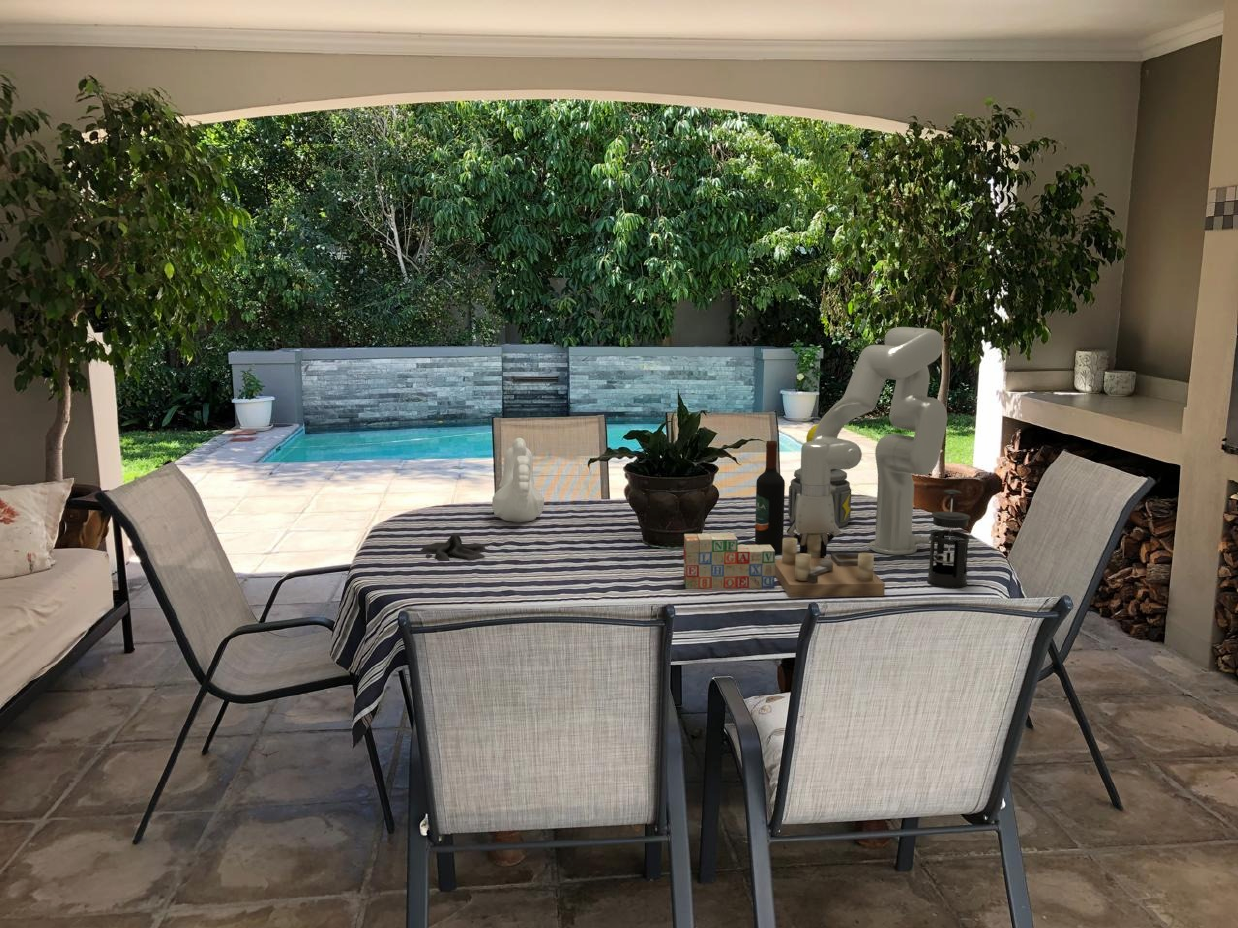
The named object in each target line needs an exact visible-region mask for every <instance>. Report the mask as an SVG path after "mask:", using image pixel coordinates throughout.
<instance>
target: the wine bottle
mask: <svg viewBox="0 0 1238 928" xmlns="http://www.w3.org/2000/svg"><path fill="white" fill-rule="evenodd" d="M765 447H766V453H765V469H764V472H762V473H761V474H760V475H759V476H758V477H757V479H756V485H755V487H756V488H755V489H756V490H755V493H756V494H755V520H754V523H755V524H754V525H755V528H754V529H755V530H754V545H771V546H772V548H773V549H774V551H775V555H780V554H782V547H783V538H784V532H785V531H784V529H785V528H784V527H785V526H784V525H785V494H786V493H785V489H786V483H785V482H786V481H785V479H784V477H783V476H782V475H781V474H780V473H779V472H778V471H777V452H778V441H776V440H766V443H765Z"/></svg>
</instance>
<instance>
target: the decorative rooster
mask: <svg viewBox="0 0 1238 928" xmlns="http://www.w3.org/2000/svg"><path fill="white" fill-rule="evenodd" d="M533 461H534V459H533V453H532V452H531V450H530V449H529V448H528V447H527V443H526V440H525V439H524V438H523V437H517V438H515V439H514V440H513V442H512V446H510V447H509V448H508V449H507V450H506V451H505V454H504V459H503V471H502V472H503V473H502V477H501V479H500V482H499V485H498V487H499V489H498V490H497V491H496V492H495V493H494V495H493V496H492V499H491V501H492V502H491V503H492V504H491V505H492V506H491V507H492V510H493V513H494V515H495V516H498V517H499V519H501V520H503V521H506V522H513V523H526V522H532V521H534V520H536V519H537V517H541V516H542V513H543V511H544V506H545V504H544V503H545V498H544V496H543V494H542V493H541V491H540V490H539V489H538V488H537V487H536V486H535V482H534V470H533V469H534V463H533Z"/></svg>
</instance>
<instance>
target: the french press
mask: <svg viewBox="0 0 1238 928" xmlns="http://www.w3.org/2000/svg"><path fill="white" fill-rule="evenodd" d="M942 492H943V494H948V495H949V499H950V509H949V510H950V511H945V510H944V511H943V510H942V511H936V512H932V513H931V517H932V520H933V521H932V523H933V525H935V526H937V527H941V528H945V529H947V528H948V529H949V530H937V531H931V533H930V534H929V535H930V536H929V541H930V550H929V564H928V565H929V566H928V574H927V579H926V582H927V584H928V585H930V586H933V587H936V588H940V589H941V588H942V589H948V590H949V589H953V590H954V589H956V590H957V589H962V588H966V587H967V586H968V581H967V577H968V570H967V569H968V568H967V565H968V564H967V563H968V551H969V550H968V548H969V547H968V546H969V543H970V536H969V534H967V533H964V532H960V531H953V530H952V529H963V528H967V527H968V526H969V520H970V519H971V516H970V515H969V514H967V513H963V512H957V511H953V500H954V499H955V495H960V494H962V492H961V491H960V490H958V489H945V490H943V491H942ZM945 537H948V538H945ZM951 537H953V538H960V539H951ZM935 543H936V553H935ZM945 546H948V547H947V552H944V551H945ZM951 546H954V547H953V548H954V549H953V550H954V551H953V553H951V552H950V551H951ZM934 563H935V565H934Z"/></svg>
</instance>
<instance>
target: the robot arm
mask: <svg viewBox="0 0 1238 928" xmlns="http://www.w3.org/2000/svg"><path fill="white" fill-rule="evenodd" d="M944 346H945V341H944V338H943V336H942V335H941V333H940V332H939V331H937V330H935V329H933V328H924V327H921V328H920V327H913V326H910V327H909V326H898V327H893V328H890V329H889V330H888V331H887V332H886V334H885V336H884V344H869V345H868V346H865V347H864V348H863V349H862V350H861V353H860V355H859V356H858V359H857V362H856V364H855V366H854V369H853V372H852V375H851V377H850V380H849V382H848V384H847V387H846V390H845V393H844V394H843V396H842V398H840V400H838V401H837V402H836V403H834V404H833V406H831V408H829V410H828V411H827V412H826V413H825V414H824V415H823V416H822V418H821V419H820V421H819V422H818V426H817V429H816V431H815V434H814V437H813V439H812V441H810V442H803V443H802V445H801V450H800V468H801V477H800V494H797V496H796V500H795V506H794V515H793V523H792V522H791V524H790V526H789V527H788V529H787V530H786V533H787V535H789V536H790V538H796V539H797V543H798V544H799V554H800V553H804V554H807V545H806V543H805V542H806V537H807V534H821V558H825V557H826V556H827V550H828V545H829V544H830V542H831V541H832V540H833V539H834V538H835V537H837V536H839V535H840V534H842V531H841V530H840V528H838V526H837V525H836V523H835V518H834V504H833V498H832V495H831V494H830V493H831V491H833V490H835V489H836V486H835V485H831V484H830V472H831V469H841V470H843V471H844V470H850V469H853V468H855V467H857V466H858V465H859V464H860V462H861V460H862V455H863V453H862V449H861V447H860V446H859V445H858V444H857V443H855V442H853V441H852V440H848V439H843V438H838V437H839V434H840V432H841V431H842V429H843V428H844V427H845V426H846V425H847V424H848V423H849V422H850V421H852V420H853V419H855V418H858V417H860V416H864V415H865V414H867V413H870V412H872V411H873V410H875V407H876V406H877V403H878V401H879V398H880V395H881V393H882V390H883V389H884V386H885V382H886V381H887V380H888V379H889V380H895V386H894V390H893V396H892V399H891V404H890V407H889V408H890V410H889V422H890V424H891V425H892V426H893V427H894V428H896V429H899V430H903V431H909V432H914V436H911V435H906V434H901V433H889V434H885V435H884V436H882V437H881V438H880V439H879V440H878V441H877V443H876V445H875V449H874V450H875V451H874V452H875V453H874V456H875V461H876V467H877V494H876V514H875V515H876V516H875V517H876V518H875V534H874V535H875V538H874V540H873V541H870V542H869V543H868V548H869V549H870V550H871V551H873V552H875V553H879V554H885V555H894V556H895V555H896V556H899V555H900V556H901V555H911V554H914V553H916V552H917V550H918V546H917V545H918V544H930V536H928V535H927V536H925V535H924V536H923V535H922V534H921V535H920V534H919V535H918V534H916V535H915V534H914V533H913V517H914V516H913V515H914V497H915V496H914V495H915V482H914V479H913V476H912V474H913V475H917V476H927V475H929V474H930V473H933V472H932V471H934V469H935V468H936V466H937V464H938V462H939V459H940V454H941V451H942V446H943V442H944V439H945V433H946V429H947V424H948V413H947V408H946V406H945V405H944V403H943V402H942V401H941V400H939V399H938V398H934V397H929V396H928V391H929V386H930V379H931V378H930V371H929V367H928V366H929V365H931V364H932V363H934V362H935V361H937V359H939V358H940V356H941V354H942V352H943V351H944Z"/></svg>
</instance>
